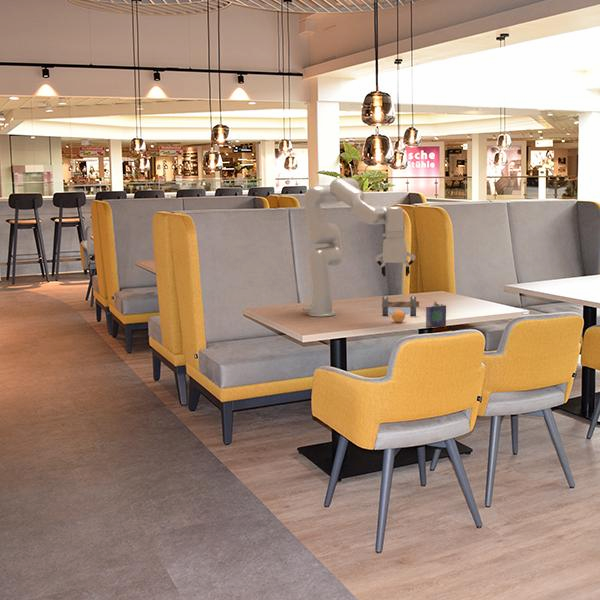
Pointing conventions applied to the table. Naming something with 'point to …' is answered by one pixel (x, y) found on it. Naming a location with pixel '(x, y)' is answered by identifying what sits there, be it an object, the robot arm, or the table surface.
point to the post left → (384, 306)
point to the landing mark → (391, 310)
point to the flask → (436, 315)
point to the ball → (398, 316)
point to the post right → (413, 306)
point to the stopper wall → (401, 303)
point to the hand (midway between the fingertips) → (395, 275)
